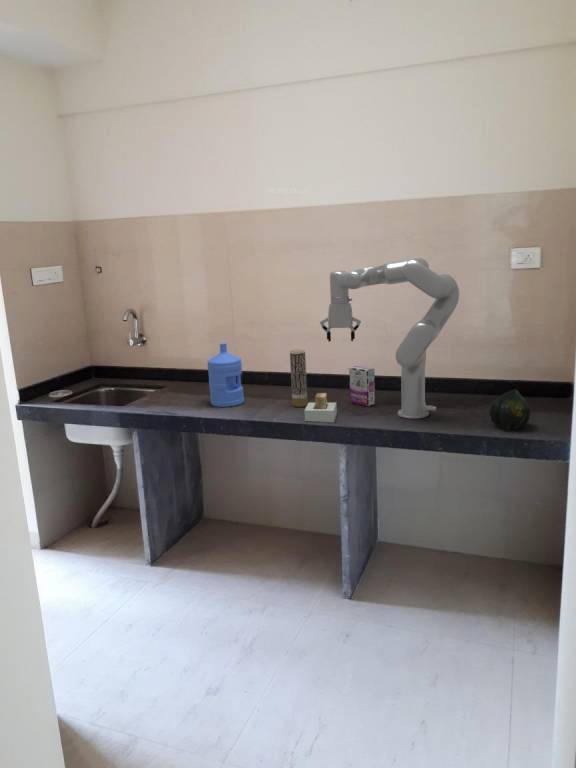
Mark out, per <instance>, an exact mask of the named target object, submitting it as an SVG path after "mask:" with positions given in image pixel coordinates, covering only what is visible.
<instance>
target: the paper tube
mask: <svg viewBox="0 0 576 768" xmlns="http://www.w3.org/2000/svg"><path fill="white" fill-rule="evenodd" d="M289 361H290V362H289V365H290V381H291V382H290V383H291V385H290V386H291V400H292V401H291V402H292V406H293V407H295V408H303V407H307V405H308V386H307V384H308V382H307V364H306V362H307V361H306V350H305V349H292V350H289Z"/></svg>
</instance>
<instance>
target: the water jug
mask: <svg viewBox="0 0 576 768" xmlns="http://www.w3.org/2000/svg"><path fill="white" fill-rule="evenodd" d="M227 344H228V343H220V344H219V350H220V351H219V353H218V354H216V355H215V356H212V357H210V358H209V359H207V371H208V386H209V393H210V397H209V398H210V399H209V401H210V404H211V405H212V406H213V407H216V406H217V407H216V408H231V407H230V406H232V407H237V406H240V405H242V404H243V403H244V401H245V396H244V387H243V386H242V379H241V376H242V373H243V370H242V368H243V363H242V359H241V357H240V356H237V355H234V354H232V353H230V352H228V349H227V348H228V347H227ZM236 405H237V406H236Z"/></svg>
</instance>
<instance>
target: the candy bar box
mask: <svg viewBox="0 0 576 768" xmlns="http://www.w3.org/2000/svg"><path fill="white" fill-rule="evenodd" d="M348 369H349V371H348V372H349V374H348V375H349V401H350V404H355V405H359V406H364V407H372V406H374V405H376V388H375V387H376V385H375V384H376V382H375V380H376V379H375V368H370V367H365V366H359V365H355V366H351V367H349V368H348Z"/></svg>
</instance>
